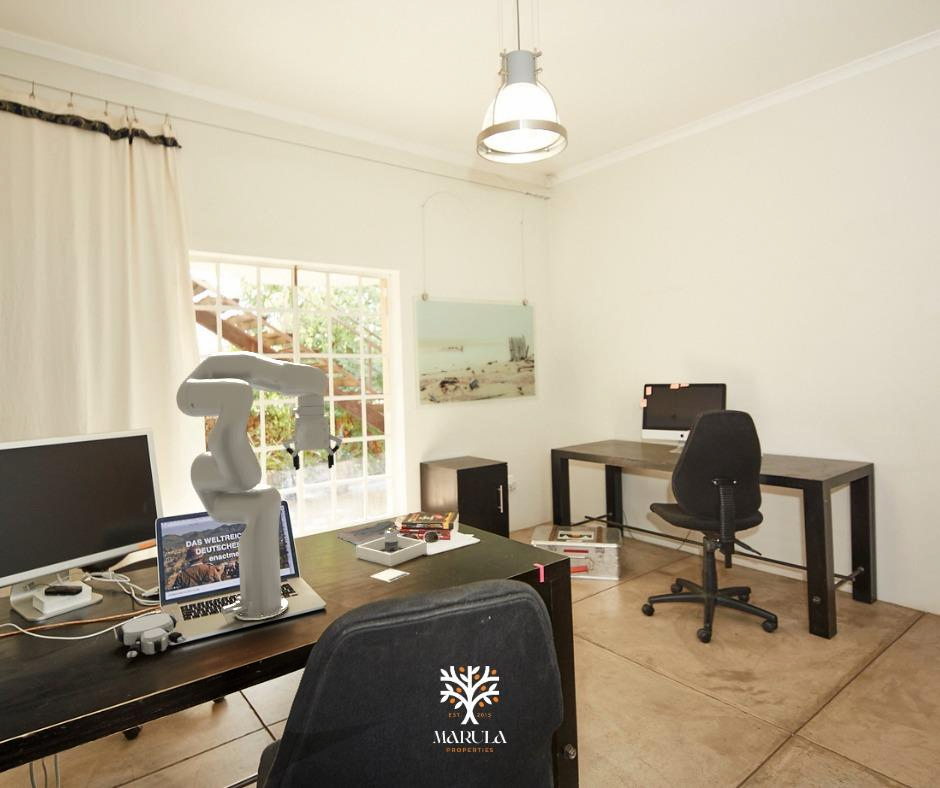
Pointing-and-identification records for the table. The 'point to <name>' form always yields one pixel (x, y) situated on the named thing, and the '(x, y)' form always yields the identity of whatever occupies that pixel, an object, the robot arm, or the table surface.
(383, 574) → the plate
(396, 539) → the clear bottle
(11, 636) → the table surface
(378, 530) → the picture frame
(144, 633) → the robot toy
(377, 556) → the tub
